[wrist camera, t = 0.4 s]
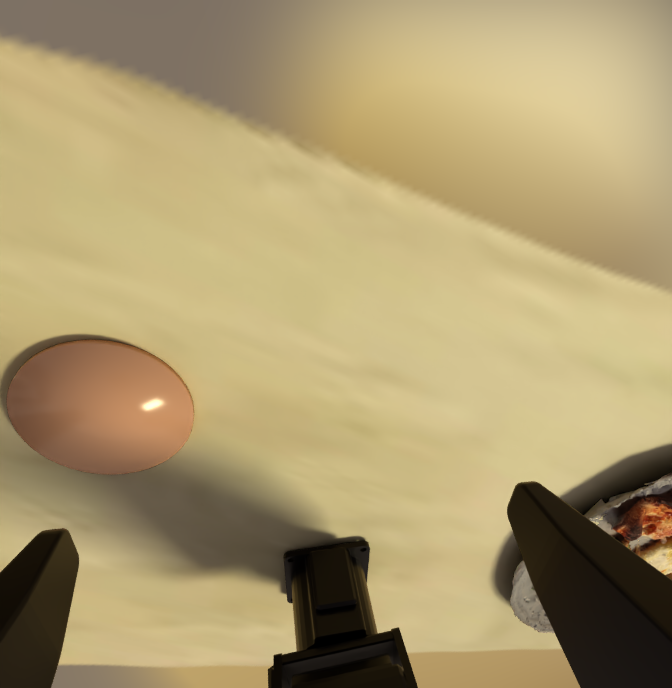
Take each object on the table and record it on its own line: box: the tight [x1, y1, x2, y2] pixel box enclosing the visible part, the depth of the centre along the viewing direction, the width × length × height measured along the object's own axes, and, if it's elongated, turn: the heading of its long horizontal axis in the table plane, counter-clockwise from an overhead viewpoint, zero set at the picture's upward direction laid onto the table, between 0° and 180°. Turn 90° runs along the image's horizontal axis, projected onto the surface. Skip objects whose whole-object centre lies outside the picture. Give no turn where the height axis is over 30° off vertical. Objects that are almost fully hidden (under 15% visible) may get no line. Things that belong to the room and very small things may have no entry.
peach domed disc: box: [7, 340, 194, 474], centre depth 24 cm, size 9×9×1 cm
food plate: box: [510, 472, 672, 633], centre depth 40 cm, size 25×23×4 cm
